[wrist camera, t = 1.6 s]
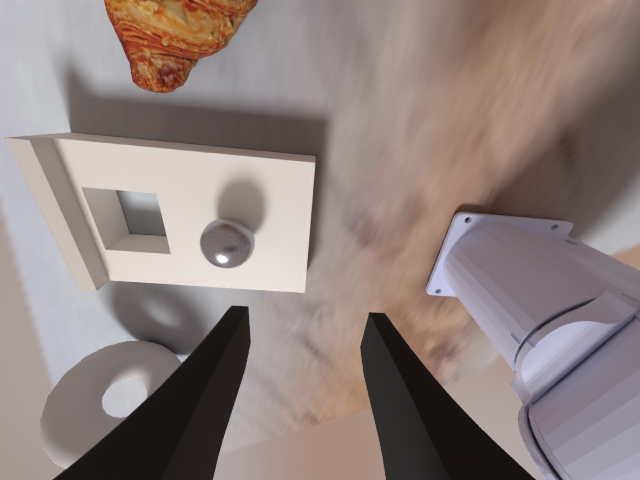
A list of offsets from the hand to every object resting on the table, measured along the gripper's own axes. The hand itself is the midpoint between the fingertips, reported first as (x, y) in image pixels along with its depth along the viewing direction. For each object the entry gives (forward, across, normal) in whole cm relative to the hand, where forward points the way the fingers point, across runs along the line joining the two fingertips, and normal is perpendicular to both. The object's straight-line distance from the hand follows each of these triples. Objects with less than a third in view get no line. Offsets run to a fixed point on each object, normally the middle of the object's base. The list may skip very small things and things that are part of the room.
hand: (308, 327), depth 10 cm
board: (+10, +8, 0) cm, 13 cm away
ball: (+6, +5, 0) cm, 8 cm away
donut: (+11, +15, +16) cm, 25 cm away
